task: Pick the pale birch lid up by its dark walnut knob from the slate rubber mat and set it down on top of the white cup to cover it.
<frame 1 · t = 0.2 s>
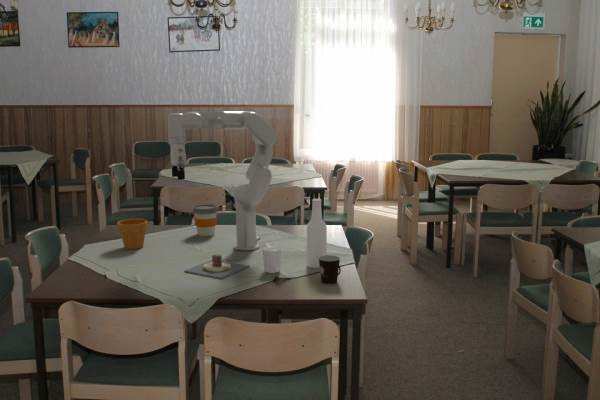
hand: (178, 177, 285), 37 cm above the table, tool pointing down, fingers open, 9 cm apart
alcohol: (316, 266, 275), on the table
white cup: (272, 271, 268), on the table
mat: (217, 269, 271), on the table
flower pot: (133, 247, 308), on the table
coffee mug: (329, 283, 252), on the table
lid: (217, 268, 271), point 1 cm above the table, touching mat
reusable coffee cup: (206, 234, 334), on the table
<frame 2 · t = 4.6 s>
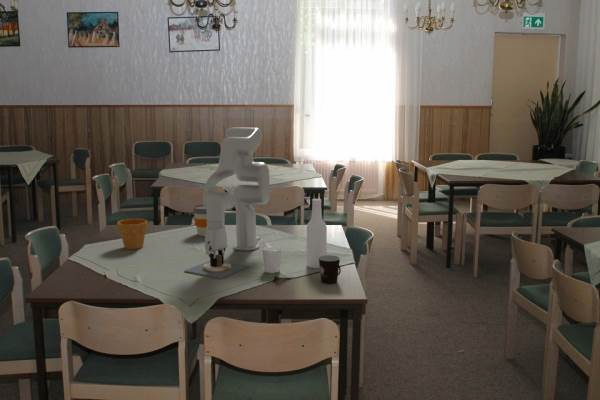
hand: (217, 264, 270), 2 cm above the table, tool pointing down, fingers closed on lid, 4 cm apart
lid: (217, 268, 271), point 1 cm above the table, touching gripper, mat
everything else where it was.
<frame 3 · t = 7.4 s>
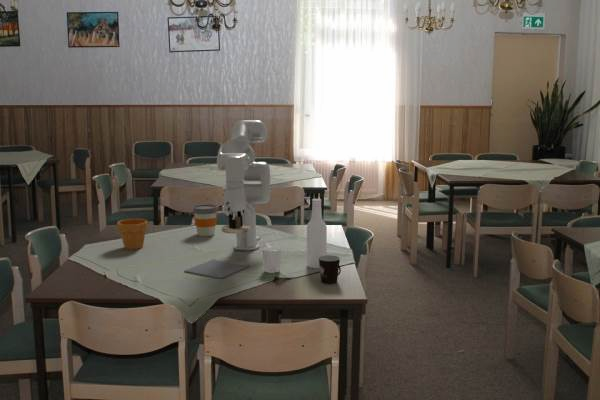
hand: (235, 226, 266), 19 cm above the table, tool pointing down, fingers closed on lid, 4 cm apart
lid: (235, 230, 266), point 18 cm above the table, touching gripper
everything else where it was.
when the fingers open (13 cm above the table, at t = 10.3 s): lid drops 1 cm, resting on white cup.
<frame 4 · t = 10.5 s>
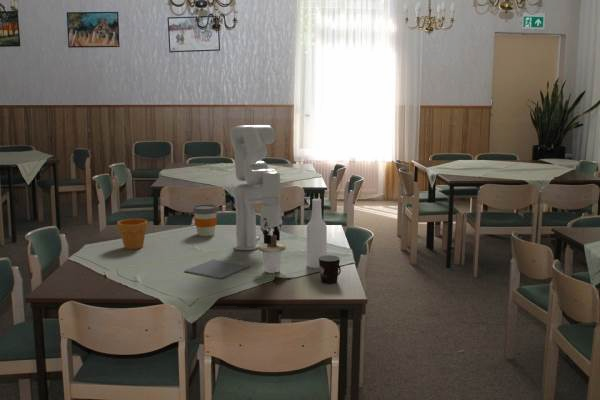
hand: (271, 241, 266), 13 cm above the table, tool pointing down, fingers open, 6 cm apart
white cup: (272, 271, 268), on the table, touching lid
lid: (271, 248, 266), point 10 cm above the table, touching white cup
everything else where it was.
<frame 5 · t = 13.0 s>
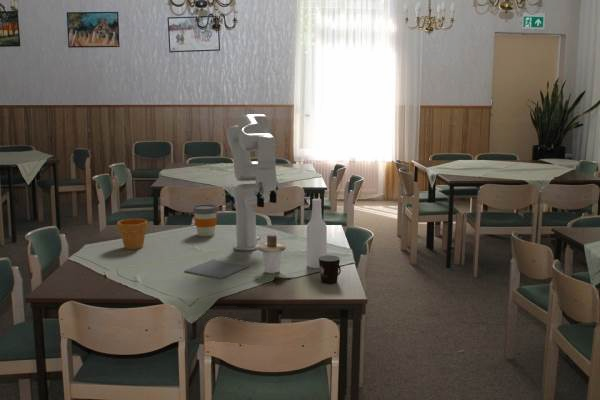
hand: (266, 204, 266), 29 cm above the table, tool pointing down, fingers open, 9 cm apart
nothing on the table moved.
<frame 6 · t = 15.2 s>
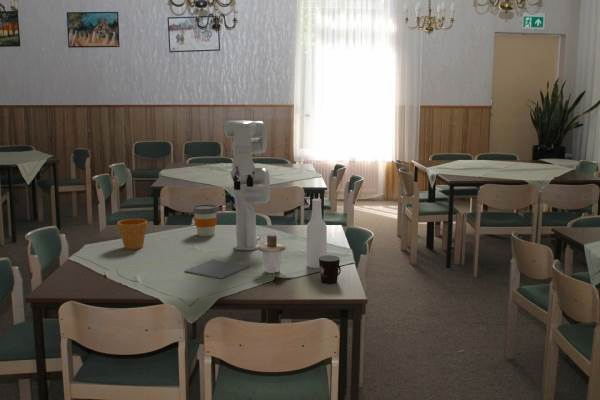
hand: (243, 188, 279), 33 cm above the table, tool pointing down, fingers open, 9 cm apart
nothing on the table moved.
at the end: lid 0.0 cm off-centre on the white cup, point 10.2 cm above the white cup's base; white cup tilted 0°; the gripper is holding nothing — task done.
